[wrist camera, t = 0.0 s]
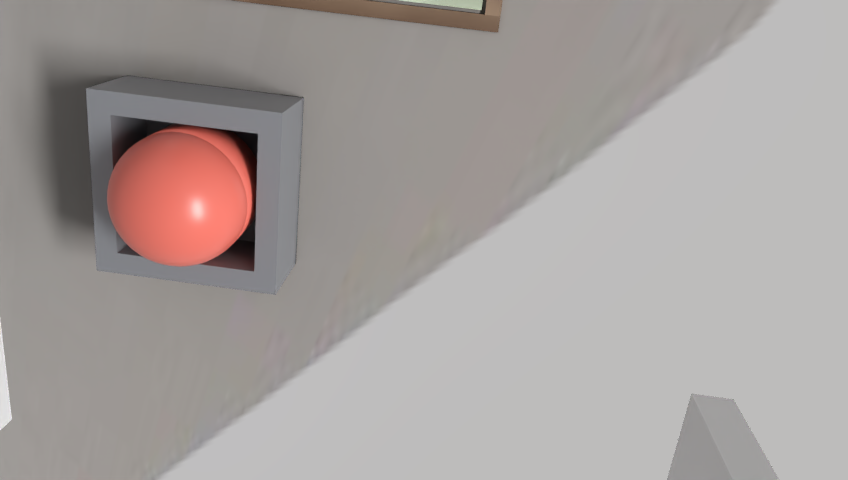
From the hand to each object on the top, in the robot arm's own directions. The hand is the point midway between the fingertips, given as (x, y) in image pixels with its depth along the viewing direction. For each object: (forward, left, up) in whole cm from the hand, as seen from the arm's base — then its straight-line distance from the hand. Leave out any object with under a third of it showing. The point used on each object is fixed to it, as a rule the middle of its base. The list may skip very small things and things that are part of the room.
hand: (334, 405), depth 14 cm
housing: (+5, -12, -28) cm, 31 cm away
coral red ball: (+5, -12, -26) cm, 30 cm away
